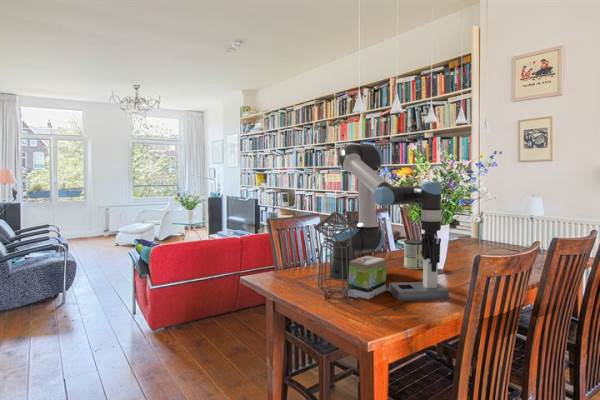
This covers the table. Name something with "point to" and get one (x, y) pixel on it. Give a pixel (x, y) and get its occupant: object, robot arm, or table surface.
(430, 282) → the plug
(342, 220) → the geometric lantern
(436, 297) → the block
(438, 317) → the table surface
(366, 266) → the tea box
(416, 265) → the coffee can
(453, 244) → the table surface
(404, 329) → the table surface
